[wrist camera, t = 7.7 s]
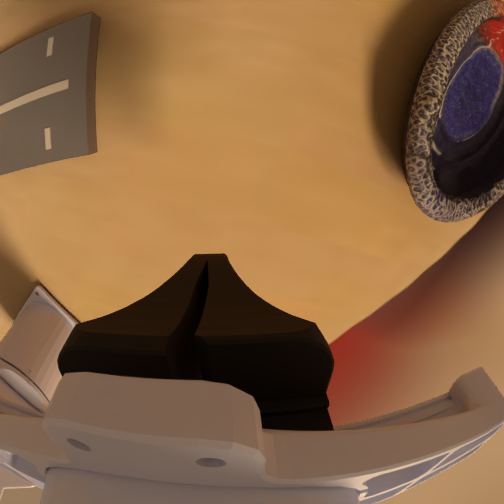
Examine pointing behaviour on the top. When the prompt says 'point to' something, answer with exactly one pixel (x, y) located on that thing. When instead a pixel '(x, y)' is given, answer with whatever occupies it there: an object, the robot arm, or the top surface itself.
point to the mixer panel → (49, 96)
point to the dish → (458, 117)
